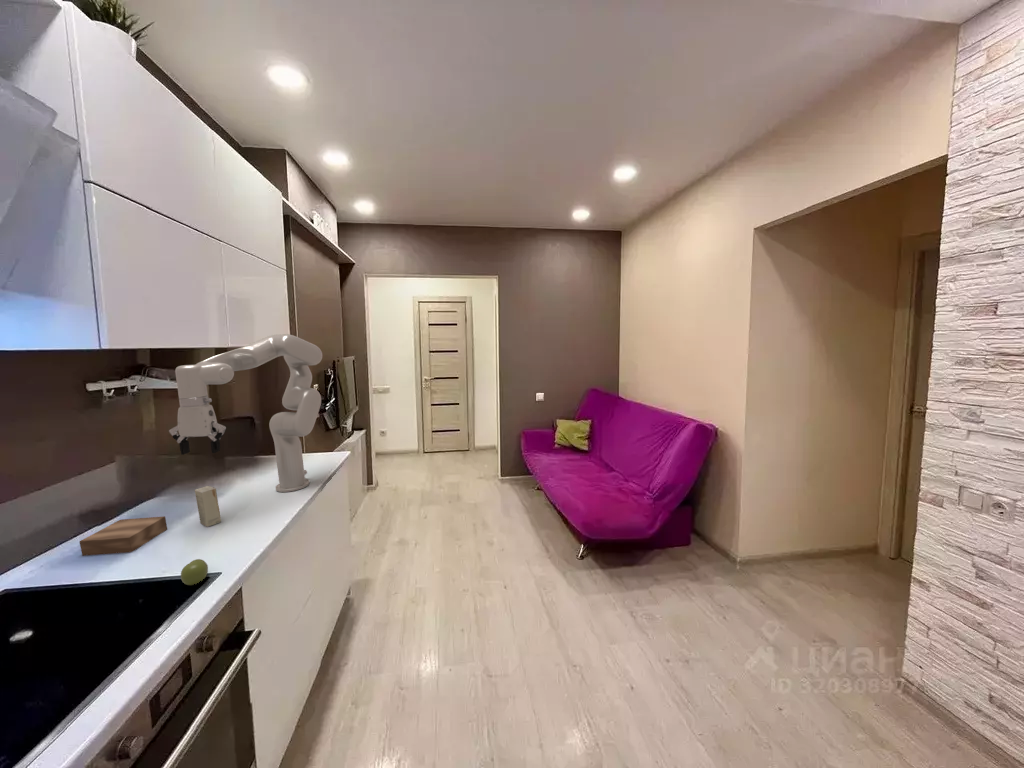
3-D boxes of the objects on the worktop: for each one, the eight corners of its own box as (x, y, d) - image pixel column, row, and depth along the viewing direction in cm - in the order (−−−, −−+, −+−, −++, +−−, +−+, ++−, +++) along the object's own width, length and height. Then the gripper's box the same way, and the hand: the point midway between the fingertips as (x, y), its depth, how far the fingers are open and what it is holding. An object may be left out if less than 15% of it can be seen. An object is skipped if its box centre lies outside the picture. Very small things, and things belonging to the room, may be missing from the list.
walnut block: (123, 533, 136) (120, 519, 135) (167, 530, 137) (165, 516, 136) (82, 557, 122) (79, 541, 121) (132, 553, 123) (129, 537, 122)
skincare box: (221, 522, 140) (216, 488, 139) (207, 527, 137) (201, 492, 135) (214, 518, 144) (209, 484, 142) (199, 523, 140) (194, 489, 139)
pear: (177, 570, 102) (183, 559, 110) (180, 591, 102) (185, 578, 110) (205, 562, 105) (208, 552, 113) (208, 583, 105) (211, 570, 113)
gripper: (228, 399, 139) (234, 448, 141) (175, 401, 138) (181, 451, 140) (214, 403, 132) (220, 454, 134) (157, 405, 130) (165, 457, 132)
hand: (200, 452), depth 137 cm, fingers open, 9 cm apart
